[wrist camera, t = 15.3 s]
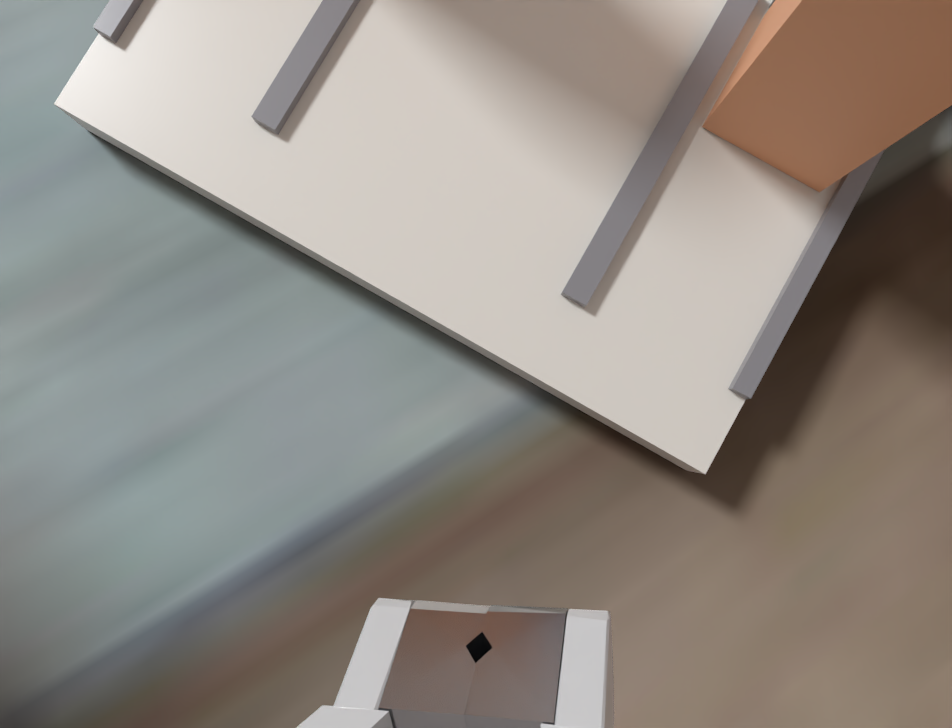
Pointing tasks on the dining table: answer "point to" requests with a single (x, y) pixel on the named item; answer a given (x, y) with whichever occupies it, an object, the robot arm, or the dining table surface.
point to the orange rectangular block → (836, 83)
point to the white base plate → (496, 179)
